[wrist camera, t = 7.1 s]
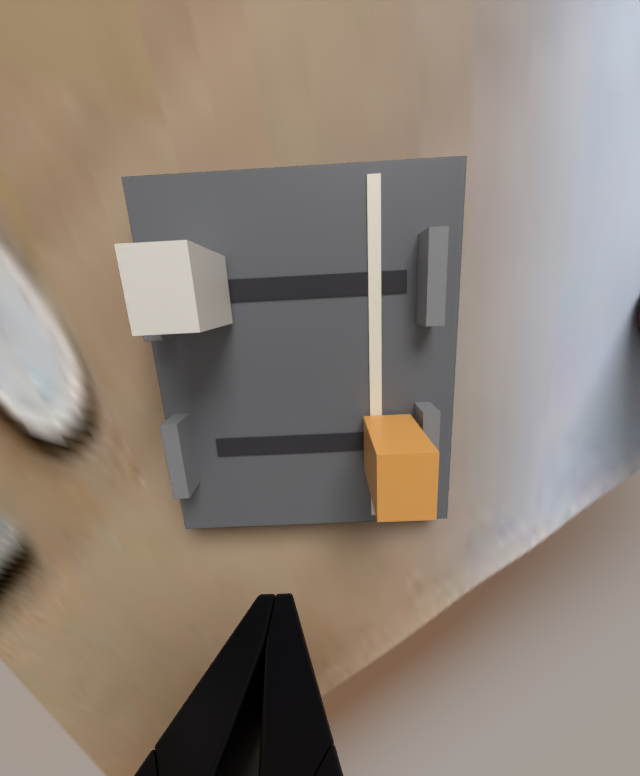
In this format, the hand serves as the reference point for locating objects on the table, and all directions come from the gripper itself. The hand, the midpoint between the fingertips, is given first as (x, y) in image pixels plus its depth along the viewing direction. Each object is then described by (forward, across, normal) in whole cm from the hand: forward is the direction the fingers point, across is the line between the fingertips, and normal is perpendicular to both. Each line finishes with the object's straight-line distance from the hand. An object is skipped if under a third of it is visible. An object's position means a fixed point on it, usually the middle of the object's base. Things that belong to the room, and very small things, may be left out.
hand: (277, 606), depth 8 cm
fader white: (+10, +4, -8) cm, 13 cm away
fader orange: (+10, -4, 0) cm, 11 cm away
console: (+12, 0, -4) cm, 12 cm away
